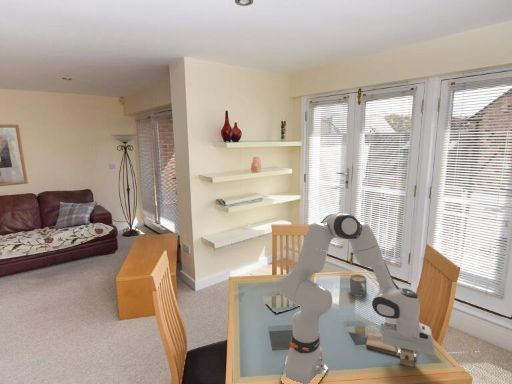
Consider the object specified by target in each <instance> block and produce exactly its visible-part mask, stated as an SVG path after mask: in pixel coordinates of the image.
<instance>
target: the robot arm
mask: <svg viewBox="0 0 512 384" xmlns="http://www.w3.org/2000/svg"><path fill="white" fill-rule="evenodd" d="M333 239H340V240H342V239H343V240H348V241H349V243H350V246H351V249H352V252H353V255H354V257H355V259H356V261H357V263H358V264H360V265H361V266H363V267H367V268H371V269H372V271H373V274H374V275H375V278H376V280H377V282H378V291H377V293H376V294H375V296H374V298H373V299H372V301H371V303H372V304H371V306H372V309H373V310H374V312H375V313H376V314H377V315H378V316H380V317H381V318H385V317H386V318H392V319H396V324H390V323H386V322H382V323H381V324H380V330H381V334H382V338H381V341H382V342H383V343H384V344H388V345H392V346H394V349H395V350H396V352H397V355H398V356H397V355H396V356H397V357H400V350H398V348H397V347H400V348H405V349H409V350H413V351H415V354H414V361H418V358H419V357H420V355H421V353H422V354H427V355H430V356H434V355H435V354H436V349H435V341H434V337H433V334H432V328H431V327H430V326H429V325H426V324H424V323H422V322H420V319H419V317H420V312H421V310H420V308H421V307H420V306H421V305H420V299H419V295H418V294H417V293H416V292H415V291H413V290H412V289H409V288H405V287H399V286H398V285H397V284H396V282H395V281H394V279H393V277H392V275H391V273H390V270H389V268H388V266H387V264H386V261H385V259H384V257H383V255H382V252H381V248H380V246H379V243H378V240H377V237H376V236H375V234H374V231H373V230H372V228H371V226H370V225H369V224H368V223H366V222H361V221H359V220H358V219H357V218H356V217H355V215H354V216H353V215H352V214H350V213H340V212H337V213H332V214H328V215H327V216H325V217H324V218H323V219H322V221H320V222H314V223H312V224H310V225H309V227H308V229H307V231H306V233H305V236H304V238H303V243H302V246H301V250H300V253H299V257H298V260H297V262H296V264H295V266H294V267H293V269H292V270H291V271H289V272H288V273H286V274H285V275H283V276H282V277H281V278H280V280H279V282H278V287H277V288H278V292H279V294H280V295H283V296H284V297H285V298H286V299H288V300H289V301H292V302H294V303H296V304H298V305H299V306H300V307H299V308H300V310H298V311H297V312H295V313H294V314H293V316H292V319H291V324H292V327H291V328H292V332H291V339H290V340H291V341H290V343H289V350H288V353H287V354H286V357H285V361H284V364H285V365H286V377H287V378H289V379H291V380H293V381H296V382H300V383H303V384H308V383H310V381H311V380H312V379H313V378H314V377H315V376H316V375H317V374H324V373H325V372H326V371H327V370H328V371H329V367H328V365H326V363H325V355H324V350H323V348H322V347H321V345H320V344H321V338H320V333H319V321H320V317H321V316H322V315H324V314H326V313H328V311H330V309H331V308H332V305H333V295H332V293H331V291H330V290H329V289H327V288H326V287H324V286H323V285H322V284H320V283H316V282H314V281H311V278H312V277H313V276H314V274H316V273H319V272H322V271H323V270H324V268H325V265H326V262H327V261H326V260H327V256H328V252H329V247H330V244H331V242H332V240H333ZM323 369H324V370H323Z"/></svg>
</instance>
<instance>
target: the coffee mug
mask: <svg viewBox="0 0 512 384" xmlns="http://www.w3.org/2000/svg"><path fill="white" fill-rule="evenodd" d="M349 286H350V287H349V288H350V289H349V290H350V291H351V292H350V291H349V292H350V294H351V295H353V294H354V296H356V295H357V296H358V297H363V296H366V295H367V288H368V287H367V277H366V276H365V275H363V274H358V273H357V274H356V273H355V274H351V275H350V277H349Z"/></svg>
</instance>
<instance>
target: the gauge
mask: <svg viewBox="0 0 512 384" xmlns="http://www.w3.org/2000/svg"><path fill="white" fill-rule="evenodd" d="M399 360H400V361H399V364H400V365H404V366H408V367H411V368H414V363H415V360H414V351H413V350H409V349H405V348H400V356H399Z"/></svg>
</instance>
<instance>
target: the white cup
mask: <svg viewBox="0 0 512 384" xmlns="http://www.w3.org/2000/svg"><path fill="white" fill-rule="evenodd" d="M384 320H385V322H386V323H390V324H396V319H392V318H386V317H384ZM385 322H384V323H385Z"/></svg>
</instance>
